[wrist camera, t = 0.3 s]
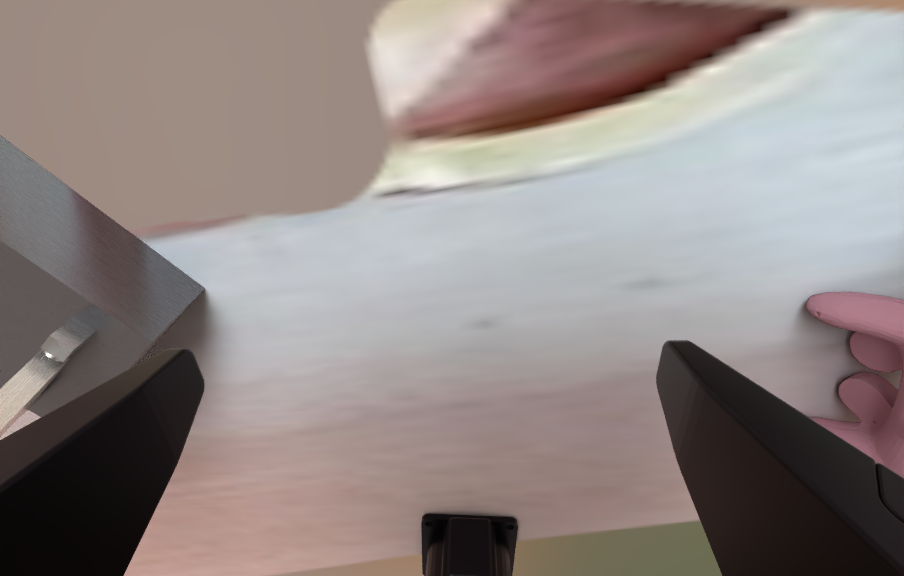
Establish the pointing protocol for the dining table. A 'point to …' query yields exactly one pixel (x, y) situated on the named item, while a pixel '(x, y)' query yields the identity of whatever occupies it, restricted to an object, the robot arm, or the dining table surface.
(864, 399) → the pink curved piece
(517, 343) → the dining table surface
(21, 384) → the light grey flat bar
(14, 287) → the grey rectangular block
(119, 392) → the robot arm
